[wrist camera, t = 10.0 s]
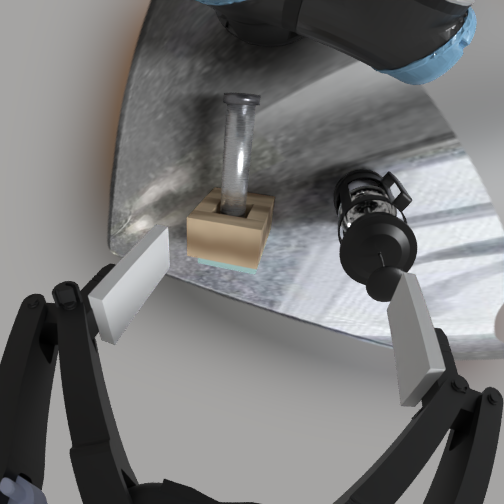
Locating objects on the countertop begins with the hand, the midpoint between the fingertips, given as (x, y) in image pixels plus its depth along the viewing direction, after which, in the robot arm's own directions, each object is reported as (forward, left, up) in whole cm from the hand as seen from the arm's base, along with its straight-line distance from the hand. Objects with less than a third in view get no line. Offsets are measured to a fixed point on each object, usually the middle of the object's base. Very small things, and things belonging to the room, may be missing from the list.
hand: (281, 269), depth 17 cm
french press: (+6, +10, -33) cm, 35 cm away
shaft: (+3, -9, -28) cm, 30 cm away
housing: (+12, -9, -33) cm, 36 cm away
